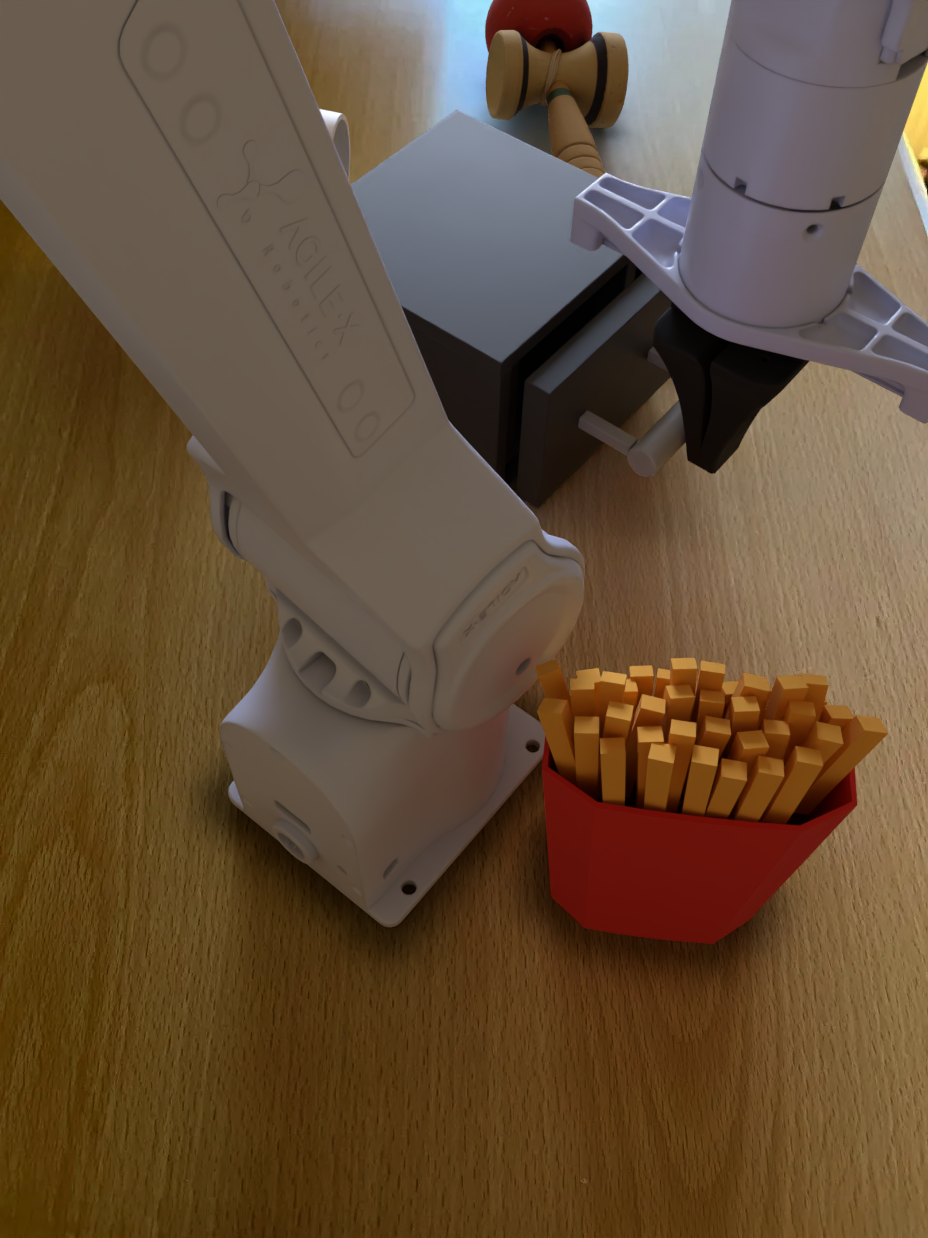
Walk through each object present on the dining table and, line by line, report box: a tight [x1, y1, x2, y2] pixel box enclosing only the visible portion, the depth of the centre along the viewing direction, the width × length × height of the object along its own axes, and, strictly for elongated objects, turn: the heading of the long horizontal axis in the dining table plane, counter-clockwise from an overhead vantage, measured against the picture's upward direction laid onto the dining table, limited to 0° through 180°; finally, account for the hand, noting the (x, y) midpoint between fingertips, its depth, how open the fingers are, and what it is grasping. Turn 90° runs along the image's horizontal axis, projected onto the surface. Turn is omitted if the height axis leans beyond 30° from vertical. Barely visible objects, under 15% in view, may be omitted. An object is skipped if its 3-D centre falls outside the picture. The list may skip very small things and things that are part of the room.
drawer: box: [505, 261, 686, 510], centre depth 50 cm, size 14×10×7 cm
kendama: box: [484, 0, 630, 178], centre depth 63 cm, size 8×6×18 cm
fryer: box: [350, 109, 643, 491], centre depth 51 cm, size 11×11×8 cm
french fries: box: [535, 657, 889, 945], centre depth 35 cm, size 9×4×13 cm, turn 83°
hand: (712, 452), depth 48 cm, fingers closed
